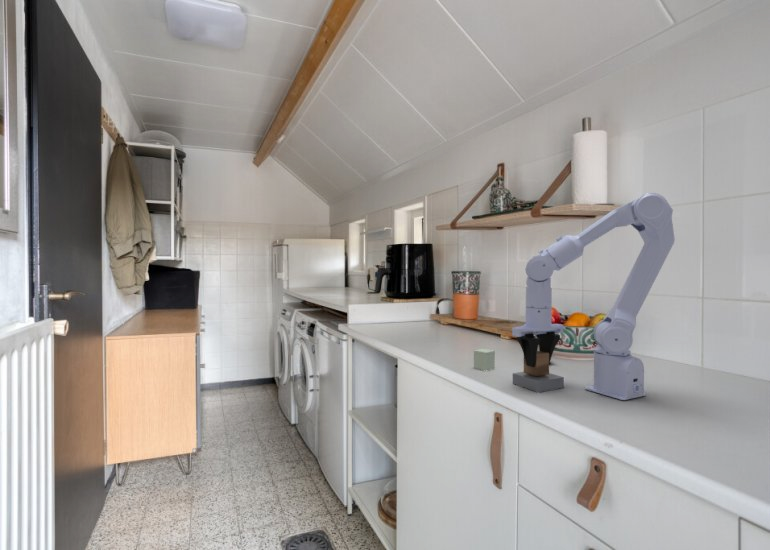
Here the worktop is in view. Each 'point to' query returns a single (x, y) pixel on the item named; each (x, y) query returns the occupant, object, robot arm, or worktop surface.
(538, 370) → the walnut block
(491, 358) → the sage block
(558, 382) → the slate tile
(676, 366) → the worktop surface
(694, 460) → the worktop surface
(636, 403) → the worktop surface
